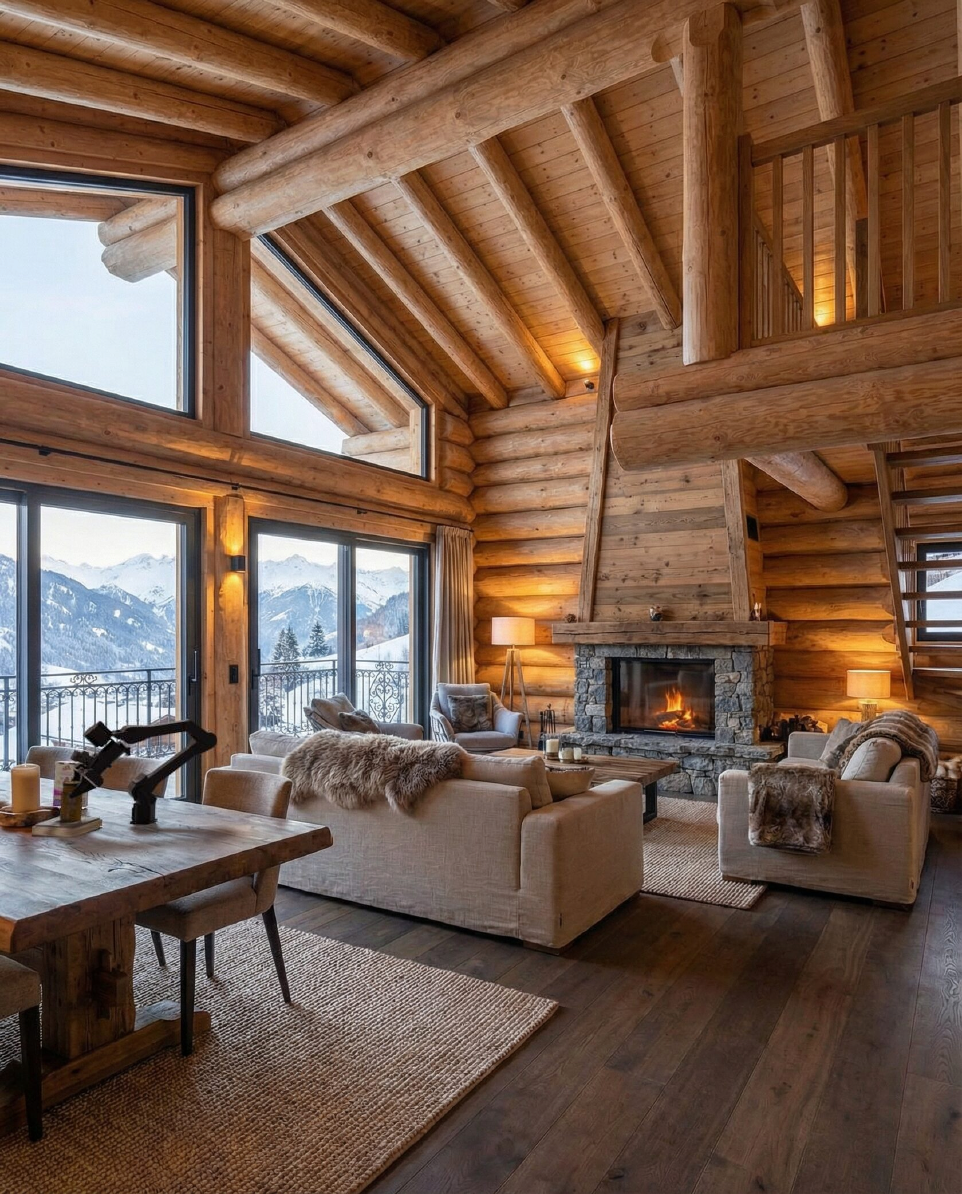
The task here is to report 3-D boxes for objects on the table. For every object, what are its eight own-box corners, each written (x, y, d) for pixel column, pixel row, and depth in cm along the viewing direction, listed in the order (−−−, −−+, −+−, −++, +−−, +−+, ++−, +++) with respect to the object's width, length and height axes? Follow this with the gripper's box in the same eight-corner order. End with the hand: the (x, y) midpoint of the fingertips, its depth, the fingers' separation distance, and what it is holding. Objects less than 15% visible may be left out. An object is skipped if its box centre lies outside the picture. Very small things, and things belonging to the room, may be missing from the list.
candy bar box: (88, 808, 287) (90, 761, 288) (77, 811, 283) (79, 763, 283) (63, 805, 291) (65, 759, 291) (51, 808, 286) (53, 761, 287)
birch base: (102, 826, 261) (102, 817, 261) (73, 837, 247) (74, 827, 247) (62, 824, 263) (62, 814, 263) (32, 834, 249) (32, 824, 249)
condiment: (86, 818, 259) (87, 780, 260) (76, 824, 251) (78, 784, 252) (61, 818, 258) (63, 780, 259) (51, 824, 250) (53, 785, 251)
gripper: (82, 737, 266) (42, 774, 259) (93, 743, 251) (52, 783, 244) (107, 759, 271) (69, 796, 264) (120, 767, 256) (80, 806, 249)
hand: (67, 795), depth 255 cm, fingers open, 9 cm apart
